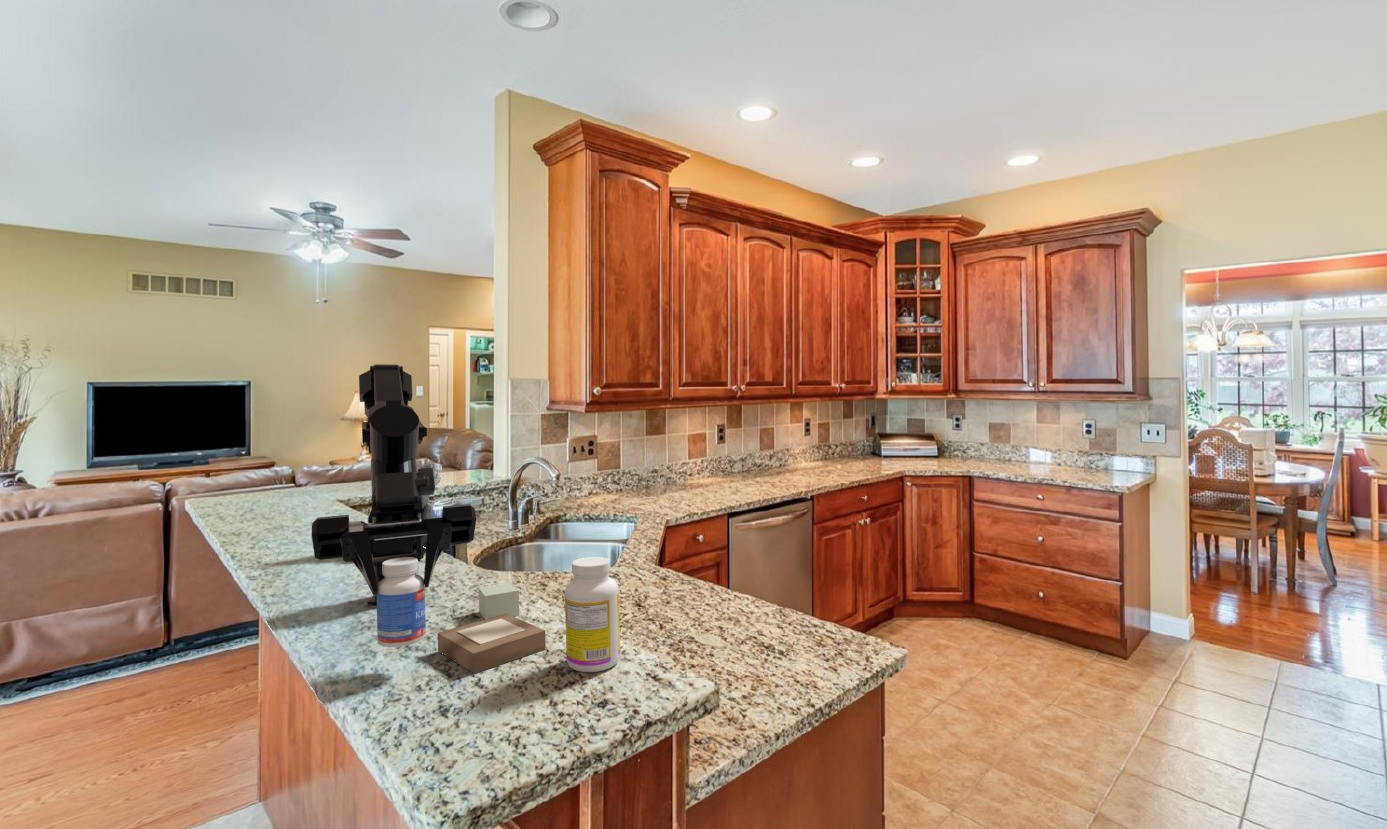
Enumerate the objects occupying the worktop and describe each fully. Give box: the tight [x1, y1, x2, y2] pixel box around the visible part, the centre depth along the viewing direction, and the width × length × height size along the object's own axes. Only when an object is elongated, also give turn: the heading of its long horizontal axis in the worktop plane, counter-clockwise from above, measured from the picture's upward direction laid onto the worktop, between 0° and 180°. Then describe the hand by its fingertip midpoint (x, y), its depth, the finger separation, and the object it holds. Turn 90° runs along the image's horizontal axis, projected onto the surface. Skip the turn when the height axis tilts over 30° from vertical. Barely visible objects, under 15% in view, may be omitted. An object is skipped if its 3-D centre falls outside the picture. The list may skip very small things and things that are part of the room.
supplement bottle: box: [564, 556, 621, 673], centre depth 79 cm, size 7×7×13 cm
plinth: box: [437, 614, 547, 674], centre depth 84 cm, size 10×10×3 cm
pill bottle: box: [376, 557, 427, 648], centre depth 78 cm, size 6×5×10 cm
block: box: [478, 582, 520, 620], centre depth 98 cm, size 5×5×4 cm
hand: (401, 589), depth 76 cm, fingers closed on pill bottle, 5 cm apart
